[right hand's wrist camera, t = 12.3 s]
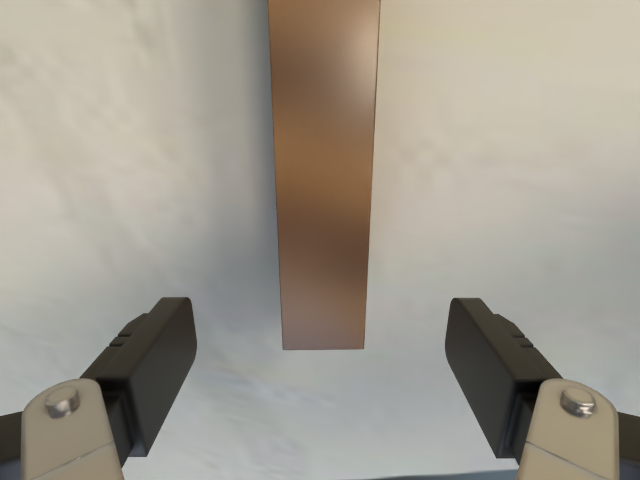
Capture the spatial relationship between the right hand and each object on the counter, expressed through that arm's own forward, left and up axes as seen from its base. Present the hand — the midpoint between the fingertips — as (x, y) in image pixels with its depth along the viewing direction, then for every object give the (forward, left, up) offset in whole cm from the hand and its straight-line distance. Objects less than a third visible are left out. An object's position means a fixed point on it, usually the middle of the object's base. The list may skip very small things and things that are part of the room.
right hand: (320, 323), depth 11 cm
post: (-25, -18, -16) cm, 35 cm away
